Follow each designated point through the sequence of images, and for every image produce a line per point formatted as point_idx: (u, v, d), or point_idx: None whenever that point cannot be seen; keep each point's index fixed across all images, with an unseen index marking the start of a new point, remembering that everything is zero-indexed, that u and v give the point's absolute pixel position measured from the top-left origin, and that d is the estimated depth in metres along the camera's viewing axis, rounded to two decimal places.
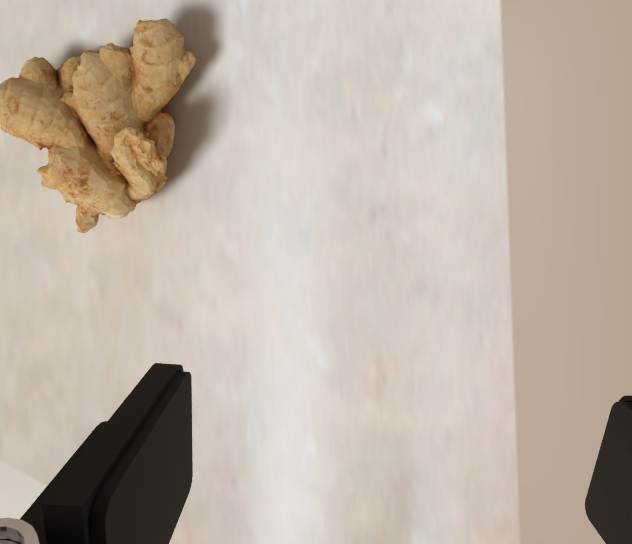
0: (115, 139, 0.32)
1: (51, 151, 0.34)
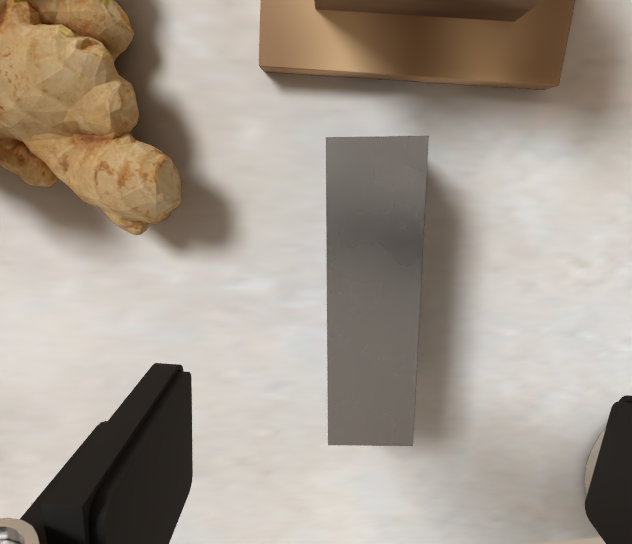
0: None
1: None
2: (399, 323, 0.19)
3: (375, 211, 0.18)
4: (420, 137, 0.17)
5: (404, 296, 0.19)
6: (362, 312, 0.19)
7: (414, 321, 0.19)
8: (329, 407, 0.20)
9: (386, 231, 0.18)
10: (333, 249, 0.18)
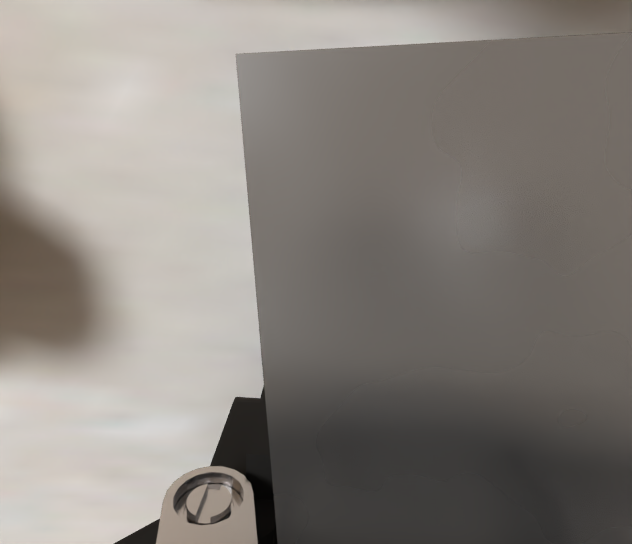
0: None
1: None
2: None
3: (460, 363, 0.04)
4: None
5: None
6: None
7: None
8: None
9: (502, 432, 0.05)
10: (299, 495, 0.05)
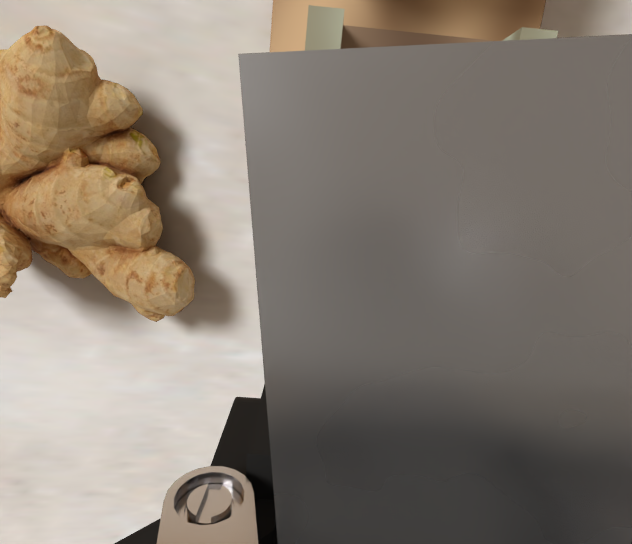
0: None
1: None
2: None
3: (461, 364, 0.04)
4: None
5: None
6: None
7: None
8: None
9: (503, 433, 0.05)
10: (299, 494, 0.05)
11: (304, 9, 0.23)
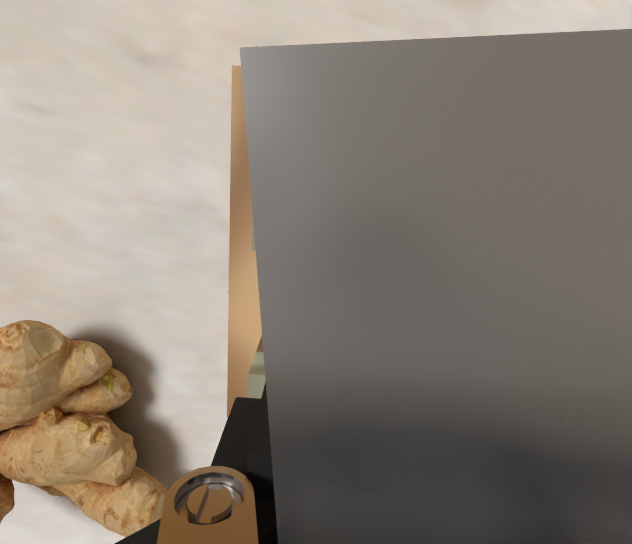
0: None
1: None
2: None
3: (465, 363, 0.04)
4: None
5: None
6: None
7: None
8: None
9: (507, 433, 0.05)
10: (300, 495, 0.05)
11: None
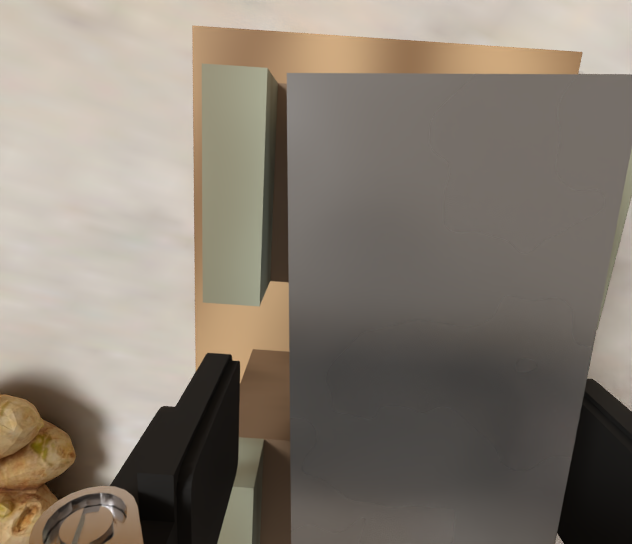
0: None
1: None
2: None
3: (442, 318, 0.06)
4: (617, 79, 0.05)
5: None
6: None
7: None
8: None
9: (472, 375, 0.06)
10: (310, 419, 0.06)
11: None
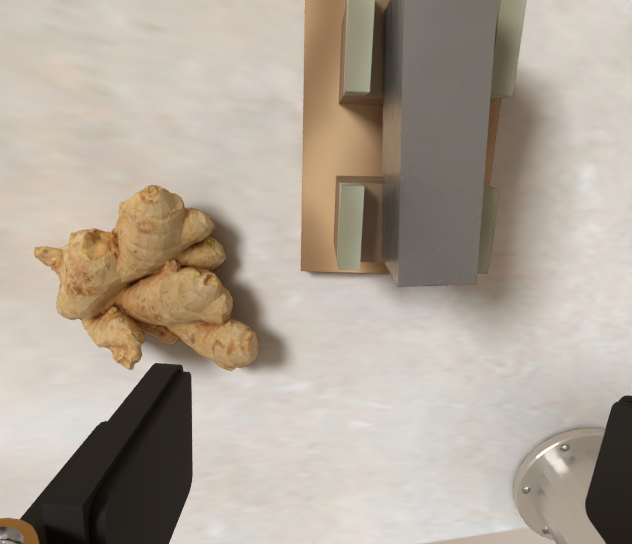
0: (126, 336, 0.31)
1: (110, 249, 0.31)
2: (467, 160, 0.21)
3: (448, 46, 0.19)
4: None
5: (473, 132, 0.20)
6: (433, 149, 0.20)
7: (481, 157, 0.20)
8: (400, 248, 0.22)
9: (458, 66, 0.19)
10: (408, 85, 0.20)
11: (326, 145, 0.32)
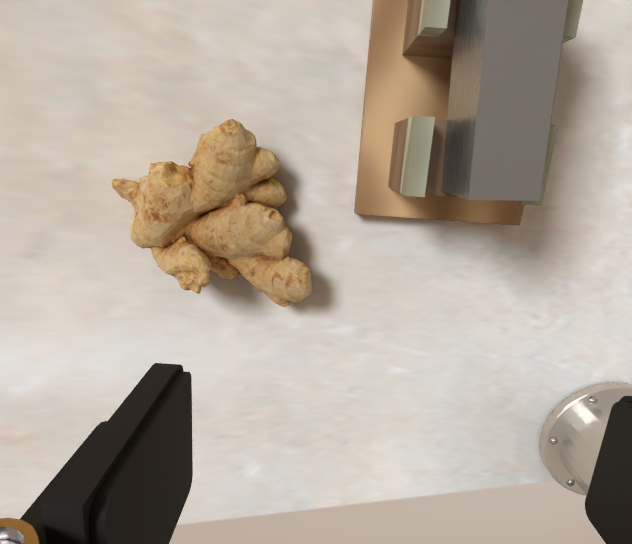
0: (197, 260, 0.34)
1: (186, 180, 0.34)
2: (539, 82, 0.23)
3: None
4: None
5: (547, 57, 0.23)
6: (510, 71, 0.23)
7: (552, 80, 0.23)
8: (473, 163, 0.24)
9: None
10: (492, 11, 0.22)
11: (387, 94, 0.35)
